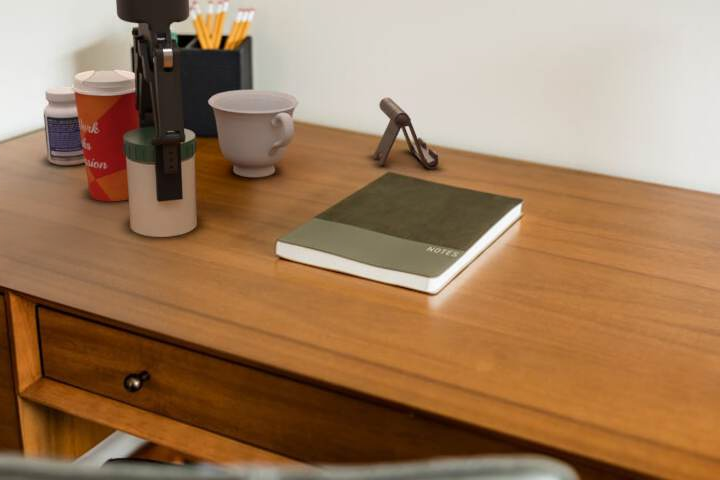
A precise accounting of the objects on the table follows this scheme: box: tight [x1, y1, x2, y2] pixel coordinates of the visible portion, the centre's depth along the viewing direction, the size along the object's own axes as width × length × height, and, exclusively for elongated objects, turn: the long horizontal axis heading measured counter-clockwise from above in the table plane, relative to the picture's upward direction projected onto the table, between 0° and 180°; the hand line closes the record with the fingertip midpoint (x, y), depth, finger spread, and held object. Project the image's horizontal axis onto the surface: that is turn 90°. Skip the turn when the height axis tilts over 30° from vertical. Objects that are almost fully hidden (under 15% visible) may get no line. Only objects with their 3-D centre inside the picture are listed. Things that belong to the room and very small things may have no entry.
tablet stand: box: [373, 97, 439, 170], centre depth 129 cm, size 9×8×8 cm
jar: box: [126, 153, 198, 238], centre depth 103 cm, size 8×8×10 cm
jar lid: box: [123, 126, 197, 162], centre depth 101 cm, size 8×8×2 cm
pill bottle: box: [43, 86, 85, 166], centre depth 123 cm, size 6×6×10 cm
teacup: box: [207, 89, 300, 178], centre depth 121 cm, size 12×15×10 cm
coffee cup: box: [70, 69, 140, 202], centre depth 111 cm, size 8×8×15 cm
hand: (162, 186), depth 103 cm, fingers closed on jar lid, 8 cm apart
